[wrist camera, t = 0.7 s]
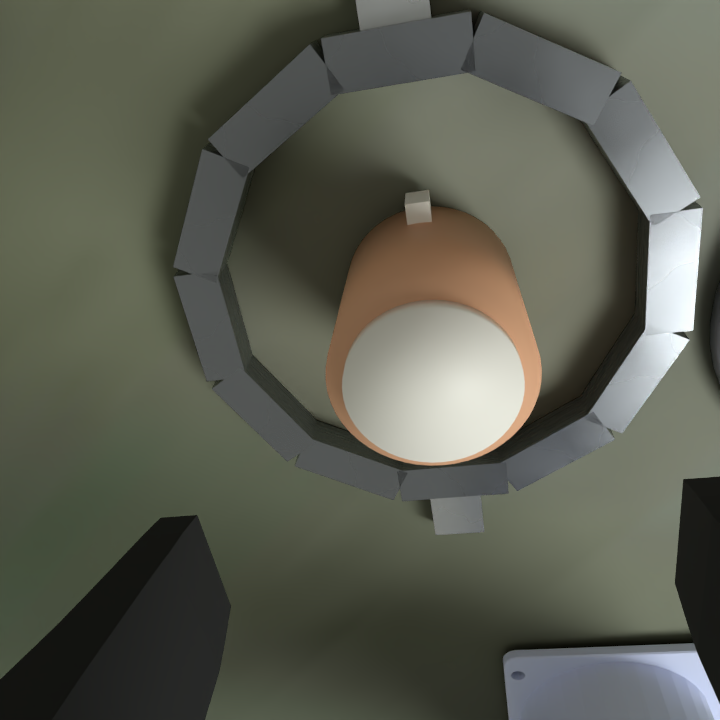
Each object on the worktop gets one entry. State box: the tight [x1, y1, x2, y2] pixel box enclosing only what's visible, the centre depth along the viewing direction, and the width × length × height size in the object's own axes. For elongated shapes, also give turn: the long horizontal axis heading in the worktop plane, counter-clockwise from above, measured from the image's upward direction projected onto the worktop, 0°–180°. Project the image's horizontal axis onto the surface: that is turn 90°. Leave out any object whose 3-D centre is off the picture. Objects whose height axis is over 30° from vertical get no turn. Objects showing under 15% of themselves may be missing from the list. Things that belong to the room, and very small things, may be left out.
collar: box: [173, 0, 703, 535], centre depth 18 cm, size 17×13×1 cm
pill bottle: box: [326, 190, 542, 466], centre depth 17 cm, size 6×5×5 cm
